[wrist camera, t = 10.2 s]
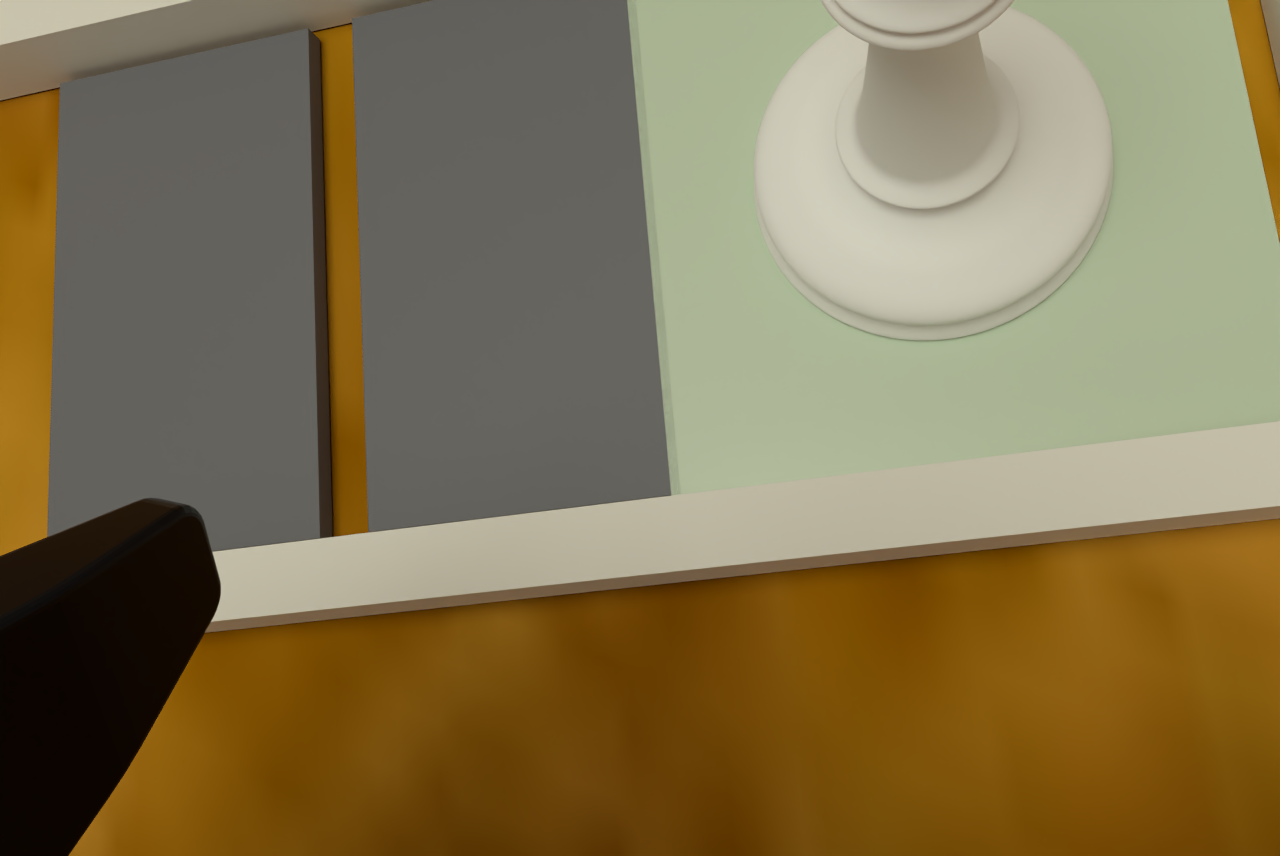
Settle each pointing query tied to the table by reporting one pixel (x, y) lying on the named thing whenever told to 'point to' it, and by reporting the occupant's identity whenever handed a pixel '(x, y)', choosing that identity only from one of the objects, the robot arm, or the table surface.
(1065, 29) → the pad
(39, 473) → the table surface
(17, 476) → the table surface
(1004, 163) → the chess piece
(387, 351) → the trap box
